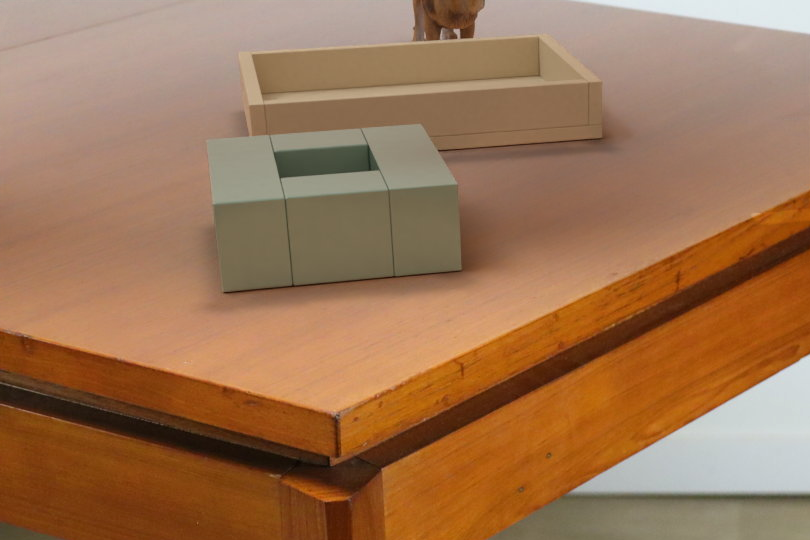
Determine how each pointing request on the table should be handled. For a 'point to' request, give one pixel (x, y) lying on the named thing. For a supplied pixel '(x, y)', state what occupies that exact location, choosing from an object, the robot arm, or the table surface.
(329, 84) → the wooden tray
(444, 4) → the lion figurine
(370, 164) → the block
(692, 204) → the table surface
